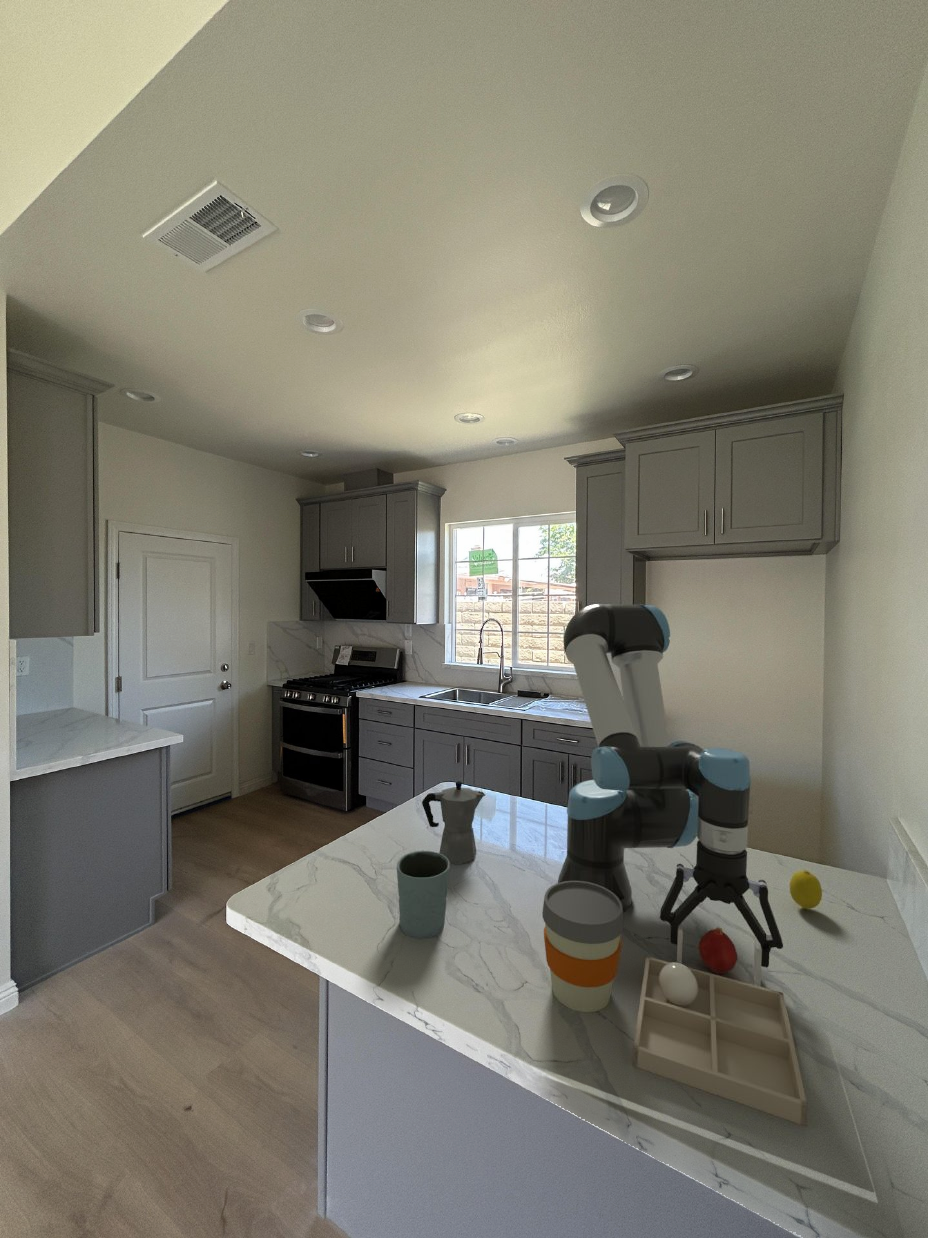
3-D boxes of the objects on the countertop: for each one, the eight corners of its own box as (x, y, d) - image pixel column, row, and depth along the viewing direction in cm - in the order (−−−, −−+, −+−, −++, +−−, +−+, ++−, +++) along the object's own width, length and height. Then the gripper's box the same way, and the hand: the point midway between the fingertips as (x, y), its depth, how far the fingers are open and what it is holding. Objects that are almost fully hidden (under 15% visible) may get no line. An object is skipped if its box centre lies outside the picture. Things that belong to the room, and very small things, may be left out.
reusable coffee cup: (619, 972, 90) (621, 885, 89) (624, 1032, 78) (627, 931, 77) (544, 960, 93) (545, 875, 92) (537, 1015, 80) (539, 918, 80)
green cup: (425, 903, 109) (426, 845, 109) (460, 925, 102) (461, 864, 101) (385, 924, 102) (385, 862, 102) (419, 949, 95) (419, 883, 94)
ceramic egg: (657, 1008, 82) (658, 972, 81) (659, 984, 87) (660, 950, 86) (697, 1020, 79) (698, 984, 79) (697, 994, 84) (698, 960, 84)
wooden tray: (632, 1069, 72) (633, 1047, 71) (645, 973, 90) (646, 956, 90) (806, 1130, 64) (807, 1106, 64) (782, 1011, 82) (783, 993, 82)
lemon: (826, 919, 106) (827, 879, 105) (795, 915, 107) (796, 876, 106) (813, 903, 111) (815, 865, 111) (784, 899, 112) (786, 862, 112)
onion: (691, 962, 93) (693, 917, 92) (723, 960, 93) (725, 916, 93) (709, 986, 87) (711, 939, 86) (743, 985, 87) (745, 937, 87)
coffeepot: (479, 843, 135) (480, 773, 135) (489, 862, 126) (490, 786, 125) (418, 849, 132) (419, 777, 131) (424, 868, 123) (425, 791, 122)
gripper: (645, 840, 90) (641, 966, 91) (809, 870, 81) (802, 1010, 82) (649, 822, 97) (645, 940, 98) (800, 849, 88) (794, 978, 89)
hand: (717, 972), depth 90 cm, fingers open, 11 cm apart
